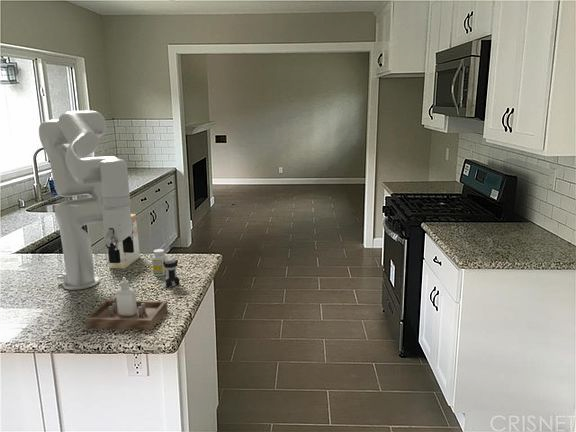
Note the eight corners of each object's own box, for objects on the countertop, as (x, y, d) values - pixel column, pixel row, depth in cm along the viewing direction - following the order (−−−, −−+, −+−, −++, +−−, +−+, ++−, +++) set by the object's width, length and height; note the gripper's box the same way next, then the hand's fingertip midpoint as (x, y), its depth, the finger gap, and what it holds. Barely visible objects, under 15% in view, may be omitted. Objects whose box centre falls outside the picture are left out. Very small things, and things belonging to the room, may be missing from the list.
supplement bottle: (157, 277, 184) (155, 253, 182) (150, 274, 188) (148, 250, 186) (170, 273, 187) (168, 250, 185) (163, 270, 191) (161, 247, 189)
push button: (164, 289, 171) (162, 263, 169) (159, 285, 175) (156, 259, 173) (182, 285, 175) (180, 259, 173) (176, 281, 179) (174, 255, 177)
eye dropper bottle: (126, 318, 145) (122, 281, 142) (116, 314, 148) (112, 277, 145) (139, 313, 148) (135, 277, 145) (128, 309, 152) (124, 273, 149)
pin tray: (86, 328, 143) (84, 314, 142) (107, 308, 156) (106, 295, 155) (151, 329, 141) (150, 315, 140) (167, 309, 154) (166, 296, 153)
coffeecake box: (125, 256, 210) (121, 213, 205) (140, 257, 209) (136, 213, 204) (108, 268, 195) (103, 221, 191) (124, 268, 194) (120, 222, 190)
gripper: (117, 195, 149) (122, 248, 153) (89, 208, 132) (96, 266, 136) (140, 196, 148) (145, 249, 152) (116, 208, 131) (122, 267, 135)
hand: (122, 257), depth 144 cm, fingers open, 9 cm apart
